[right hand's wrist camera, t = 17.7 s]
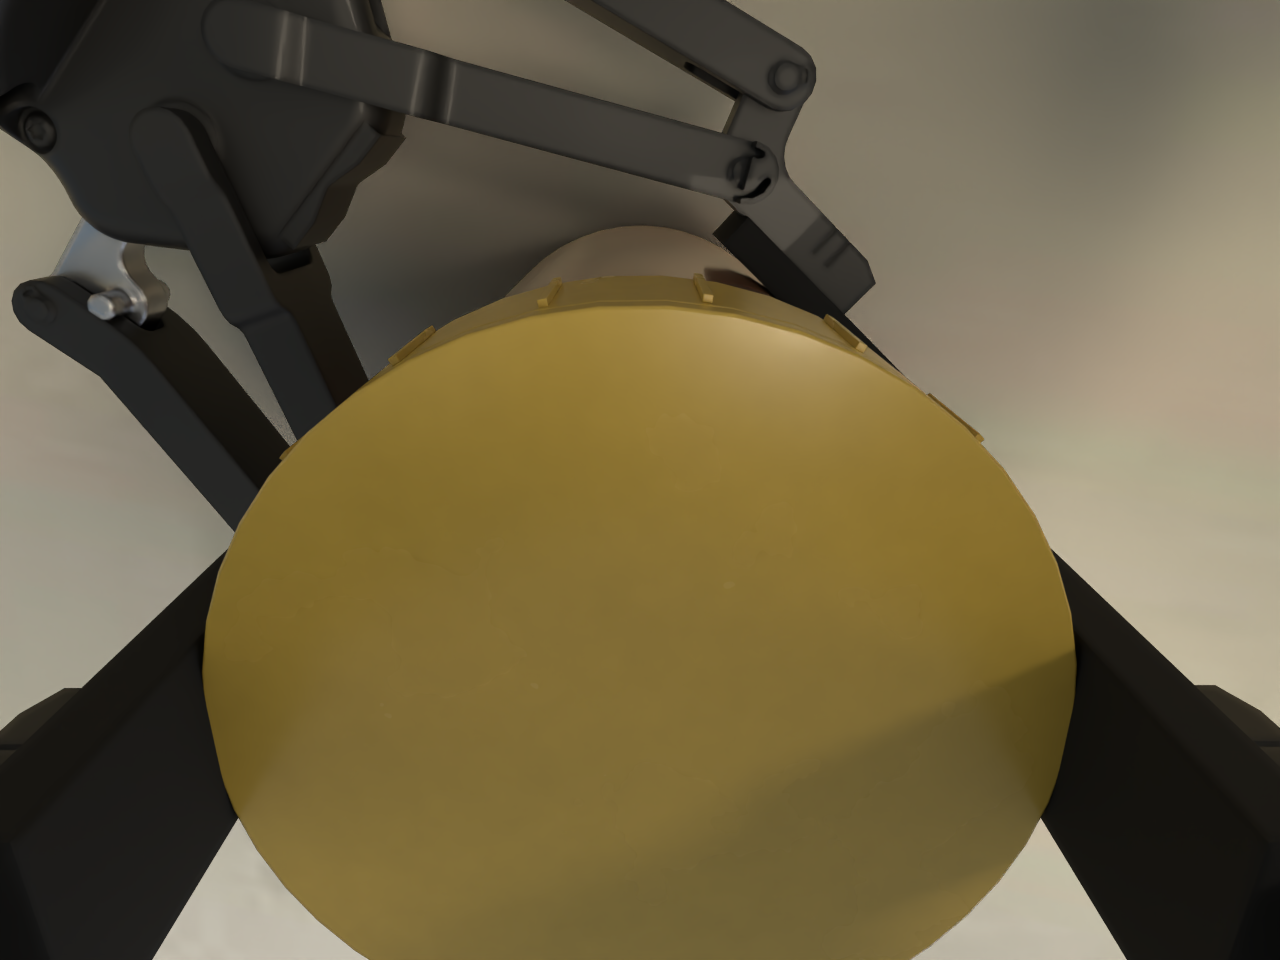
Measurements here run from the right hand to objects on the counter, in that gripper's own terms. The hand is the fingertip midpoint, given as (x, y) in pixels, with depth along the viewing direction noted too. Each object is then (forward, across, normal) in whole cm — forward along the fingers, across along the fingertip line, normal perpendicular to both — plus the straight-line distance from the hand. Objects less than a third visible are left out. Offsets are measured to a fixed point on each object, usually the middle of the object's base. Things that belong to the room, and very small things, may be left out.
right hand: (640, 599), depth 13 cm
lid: (-3, 0, 0) cm, 3 cm away
